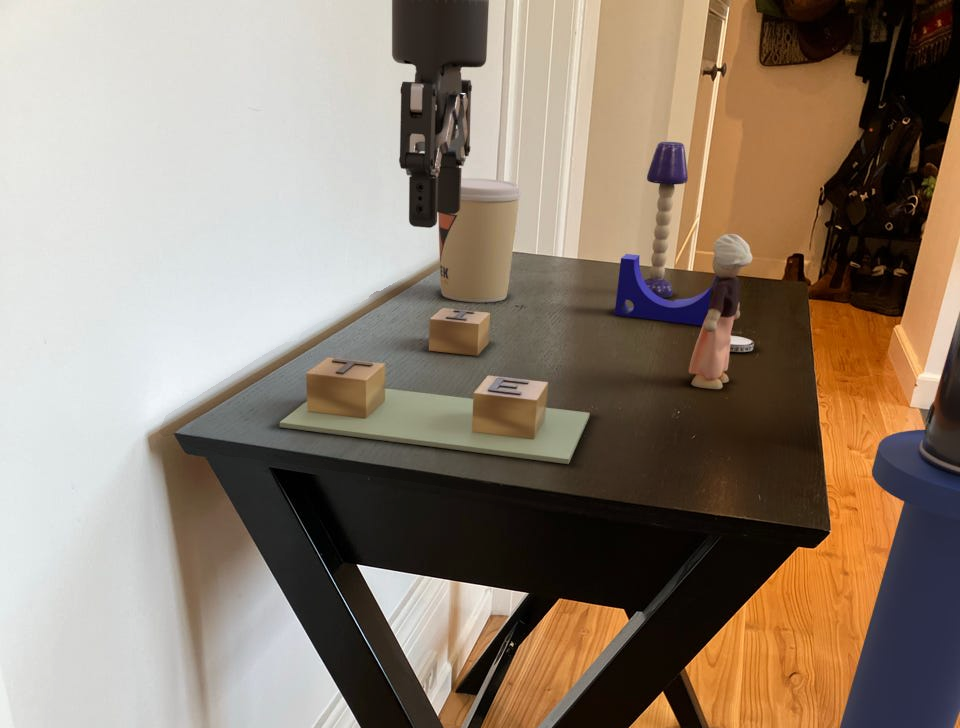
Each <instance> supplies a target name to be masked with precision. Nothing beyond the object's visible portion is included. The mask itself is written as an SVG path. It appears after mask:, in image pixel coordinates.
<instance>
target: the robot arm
mask: <svg viewBox="0 0 960 728" xmlns="http://www.w3.org/2000/svg"><path fill="white" fill-rule="evenodd" d="M489 7H490V0H391V56H392V59H393V60H394V62H396V63H397V64H401V65H402V64H403V65H412V66H414V67H415V73H414V81H402V82H401V86H400V124H399V125H400V128H399V158H398V161H399V162H398V163H399V168H400V169H401V170H405V173H406V176H409V178H408V185H409V186H408V194H409V195H408V222H409V225H411V226H412V227H415V228H429V229H430V228H434V227H435V226H436V225H437V223H438V213H447V214H455V213H457V212H458V211H459V210H460V200H461V178H462V169H463V168H462V167H465V162H466V159H467V157H469V156H470V153H471V144H470V143H471V111H472V110H471V109H472V108H471V107H472V106H471V105H472V91H473V84H472V80H470V79H462V72H461V71H462V68H482V67H483V66H484V65H486V62H487V56H488V55H487V54H488V31H489ZM926 423H927V424H926ZM925 424H926V425H925V428H924V430H925V433H924V437H923V440H922V441H921V443H920V447H919V450H918V453H919V455H920V457H921V458H922V459H923V460H924V461H925V462H927V463H928V464H930V465H932V466H934V467H936V468H938V469H940V470H943V471H945V472H947V473H950V474H954V475H957V476H960V311H959V312H958V316H957V320H956V323H955V326H954V330H953V334H952V337H951V339H950V344H949V346H948V350H947V355H946V357H945V362H944V364H943V367H942V372H941V375H940V378H939V381H938V386H937V389H936V392H935V396H934V399H933V401H932V403H931V404H930V406H929V408H928V413H927V416H926V420H925Z"/></svg>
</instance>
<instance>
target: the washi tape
mask: <svg viewBox="0 0 960 728" xmlns="http://www.w3.org/2000/svg"><path fill="white" fill-rule="evenodd" d="M754 346H755V342H754V341H753V340H752V339H749V338H747V337H742V336H738V335H737V336H736V335H731V343H730V352H733V353H734V352H735V353H746V352H752V351H753V350H754Z"/></svg>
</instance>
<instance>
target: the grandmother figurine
mask: <svg viewBox="0 0 960 728" xmlns="http://www.w3.org/2000/svg"><path fill="white" fill-rule="evenodd" d="M712 251H713V258H712V264H711V265H712V270H713V272H714V274H715V276H716V275H717V276H718V278H717V280H716V282H715V283H714V282H713V283H714V285H713V284H712V285H713V286H712V285H711V286H712V289H711V293H710V301H709V309H708V314H707V316H706V318H705V321H704V323H703V326H702V325H701V329H700V332H699V335H698V337H697V340H696V343H695V345H694V347H693V348H694V349H693V352H692V355H691V359H690V363H689V366H688V374H691V375H695V376H694V377H693V379H692V381H691V383H690V384H691V385H692V386H693V387H696V388H701V389H709V390H721V389H722V388H723V384H725V383H729V381H730V379H729V376H728V375H727V374H726V373H725V372H727V371H728V369H729V362H730V352H731V351H730V343H731V336H732V330H733V329H732V328H733V325H734V321H736V320H738V319H739V318H740V317H741V311H740V301H741V298H740V294H741V293H740V292H741V284H740V280H739V278H737V277H738V275H739V274H740V273H741V272H742V270H743V268H744V267H747V266H748V265H750V264H751V263H752V261H753V254H752V253H751V246H750V245H749V244H748V242H746V241H745V240H744V238H742V237H741V236H739V235H737V234H735V233H728V234H723V235H721V236H720V237H719V238H718V239H716V240H715V242H714V244H713V247H712Z"/></svg>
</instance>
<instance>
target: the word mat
mask: <svg viewBox="0 0 960 728" xmlns="http://www.w3.org/2000/svg"><path fill="white" fill-rule="evenodd" d="M472 415H473V398H468V397H460V396H451V395H444V394H443V395H442V394H434V393H427V392H418V391H410V390H402V389H392V388H385V401H384V402H383V403H382V404H381V405H380V406H379V407H378V408H377V409H376V410H375V411H374V412H372V413H371V414H370V415H369V416H368V417H367V418H358V417H350V416H342V415H334V414H326V413H318V412H310V411H308V408H307V400H306V401H305V402H303V403H302V404H301V405H299V406H298V407H297V408H296V409H294V410H293V411H292V412H291V413H290V414H288V415H287V416H286V417H284V418H283V419H282V420H280V421H279V428H284V429H291V430H297V431H298V430H299V431H307V432H314V433H323V434H324V433H325V434H330V435H336V436H337V435H338V436H347V437H355V438H362V439H367V440H368V439H370V440H377V441H384V442H392V443H400V444H408V445H416V446H425V447H431V448H439V449H440V448H441V449H448V450H455V451H456V450H457V451H463V452H470V453H478V454H487V455H494V456H502V457H509V458H518V459H525V460H534V461H540V462H549V463H558V464H564V465H569V464H570V462H571V459H572V457H573V455H574V453H575V450H576V448H577V446H578V443H579V441H580V439H581V437H582V434H583V432H584V430H585V428H586V426H587V423H588V420H589V419H590V415H591V413H590V412H588V411H577V410H569V409H562V408H555V407H554V408H552V407H546V416H545V421H544V422H543V424H542V426H541V428H540V429H539V431H538V433H537V435H536V437H535V438H534V439H528V438H519V437H511V436H503V435H495V434H487V433H479V432H472Z"/></svg>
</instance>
